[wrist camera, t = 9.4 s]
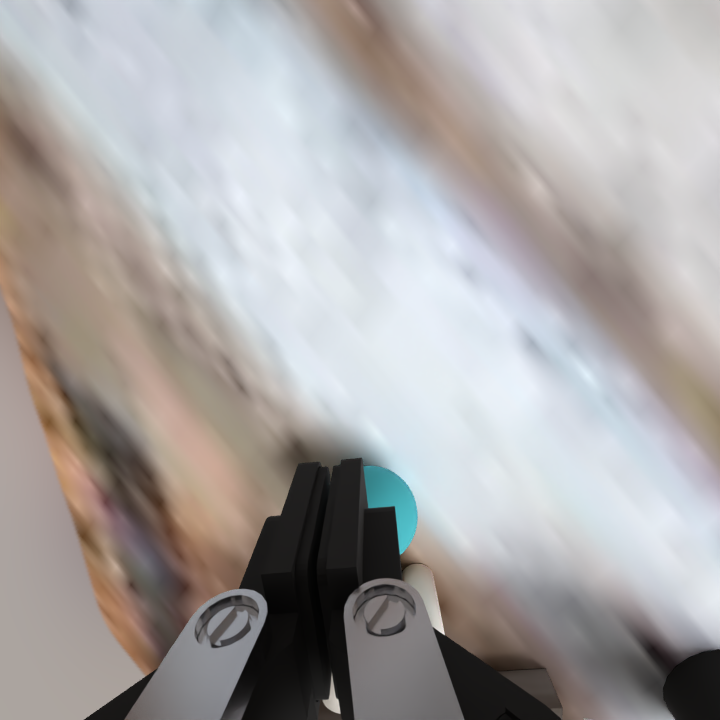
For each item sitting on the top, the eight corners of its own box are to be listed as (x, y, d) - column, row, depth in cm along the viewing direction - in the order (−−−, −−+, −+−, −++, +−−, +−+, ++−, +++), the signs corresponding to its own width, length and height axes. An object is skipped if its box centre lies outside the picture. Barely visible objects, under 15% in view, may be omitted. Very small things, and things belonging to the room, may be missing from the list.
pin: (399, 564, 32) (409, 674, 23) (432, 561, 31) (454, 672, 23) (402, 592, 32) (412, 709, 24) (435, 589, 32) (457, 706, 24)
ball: (330, 571, 28) (329, 480, 31) (420, 565, 28) (410, 475, 31) (315, 566, 23) (316, 457, 26) (425, 559, 23) (413, 451, 26)
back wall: (249, 686, 35) (238, 726, 32) (545, 668, 34) (562, 708, 31) (253, 705, 35) (243, 746, 32) (546, 688, 34) (562, 728, 31)
